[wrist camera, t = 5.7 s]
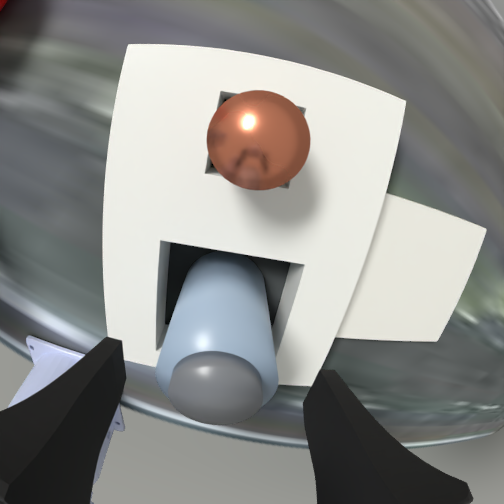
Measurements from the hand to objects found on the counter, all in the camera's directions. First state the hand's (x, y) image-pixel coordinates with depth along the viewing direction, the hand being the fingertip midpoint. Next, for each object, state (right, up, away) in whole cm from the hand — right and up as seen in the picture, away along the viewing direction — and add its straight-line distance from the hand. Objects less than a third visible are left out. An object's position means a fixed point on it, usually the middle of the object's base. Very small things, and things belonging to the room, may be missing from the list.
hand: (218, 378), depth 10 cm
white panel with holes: (0, +6, +5) cm, 8 cm away
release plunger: (+1, +10, +3) cm, 10 cm away
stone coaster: (+11, +3, +7) cm, 13 cm away
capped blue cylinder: (0, +3, +6) cm, 7 cm away
